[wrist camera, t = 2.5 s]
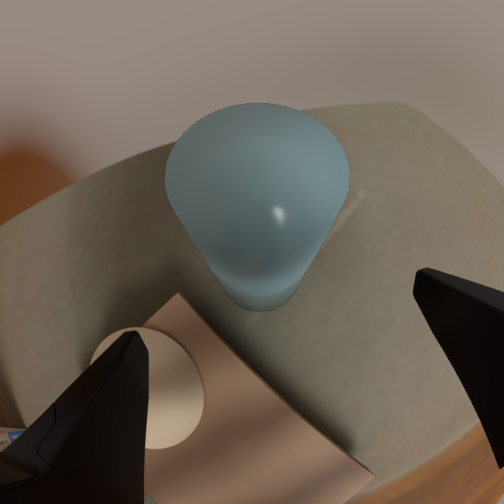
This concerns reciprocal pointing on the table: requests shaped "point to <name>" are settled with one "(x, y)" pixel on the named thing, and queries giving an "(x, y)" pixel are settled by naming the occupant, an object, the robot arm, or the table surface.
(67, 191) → the table surface
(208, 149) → the light blue rounded piece
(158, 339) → the plate
